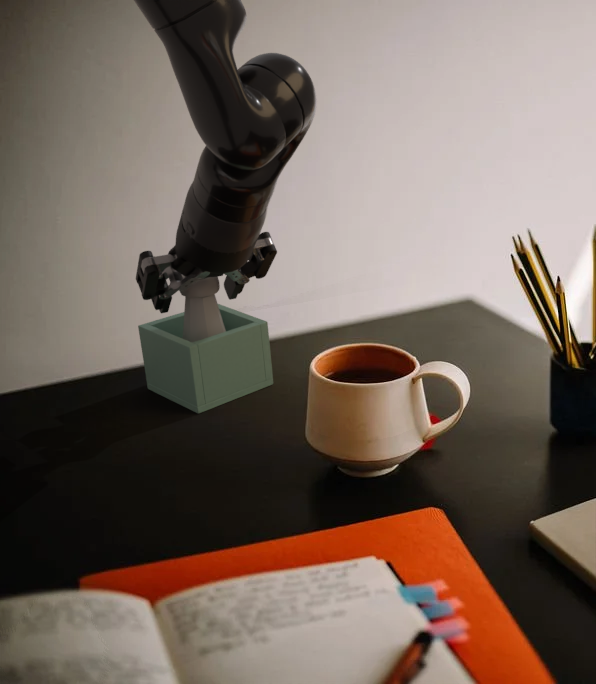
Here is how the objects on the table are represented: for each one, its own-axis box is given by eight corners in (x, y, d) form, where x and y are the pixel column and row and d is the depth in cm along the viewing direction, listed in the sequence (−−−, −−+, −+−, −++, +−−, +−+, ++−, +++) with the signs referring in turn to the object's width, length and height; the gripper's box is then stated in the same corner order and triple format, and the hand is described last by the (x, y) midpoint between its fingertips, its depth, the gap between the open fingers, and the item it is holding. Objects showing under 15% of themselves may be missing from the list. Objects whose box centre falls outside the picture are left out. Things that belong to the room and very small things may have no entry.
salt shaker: (195, 396, 100) (180, 284, 95) (176, 379, 104) (160, 271, 99) (245, 382, 104) (233, 273, 99) (225, 366, 108) (212, 261, 103)
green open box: (198, 414, 98) (189, 347, 95) (147, 389, 104) (137, 325, 101) (273, 384, 105) (267, 321, 102) (222, 362, 111) (215, 302, 108)
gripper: (278, 178, 94) (245, 260, 107) (135, 196, 86) (118, 282, 98) (304, 239, 92) (267, 314, 105) (160, 263, 84) (140, 342, 97)
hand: (195, 298), depth 102 cm, fingers open, 7 cm apart
